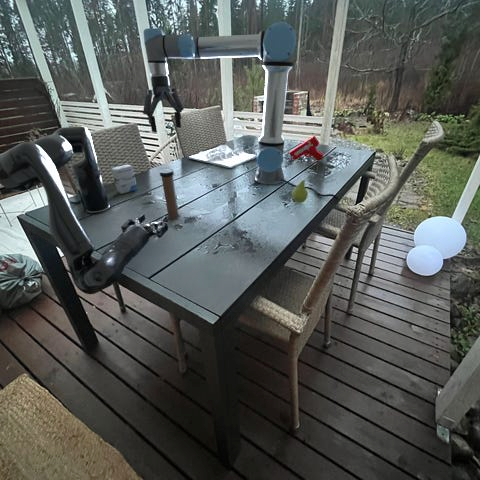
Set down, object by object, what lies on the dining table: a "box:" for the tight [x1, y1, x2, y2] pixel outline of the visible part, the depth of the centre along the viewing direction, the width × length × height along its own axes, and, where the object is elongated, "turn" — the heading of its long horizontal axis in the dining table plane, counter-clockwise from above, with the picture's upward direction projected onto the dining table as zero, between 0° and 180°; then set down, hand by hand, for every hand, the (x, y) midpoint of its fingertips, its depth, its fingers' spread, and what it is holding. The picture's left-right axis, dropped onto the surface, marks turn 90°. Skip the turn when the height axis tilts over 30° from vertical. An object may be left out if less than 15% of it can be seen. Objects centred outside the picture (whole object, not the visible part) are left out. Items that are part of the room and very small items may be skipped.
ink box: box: [110, 164, 138, 195], centre depth 131 cm, size 8×5×12 cm, turn 135°
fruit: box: [291, 174, 311, 204], centre depth 118 cm, size 7×8×12 cm
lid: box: [159, 168, 175, 178], centre depth 101 cm, size 5×5×2 cm
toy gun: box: [288, 135, 324, 163], centre depth 172 cm, size 18×4×15 cm
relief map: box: [188, 143, 257, 169], centre depth 179 cm, size 27×35×5 cm
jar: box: [161, 175, 179, 219], centre depth 106 cm, size 4×4×18 cm
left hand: (154, 217), depth 96 cm, fingers open, 8 cm apart
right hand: (167, 129), depth 125 cm, fingers open, 13 cm apart
